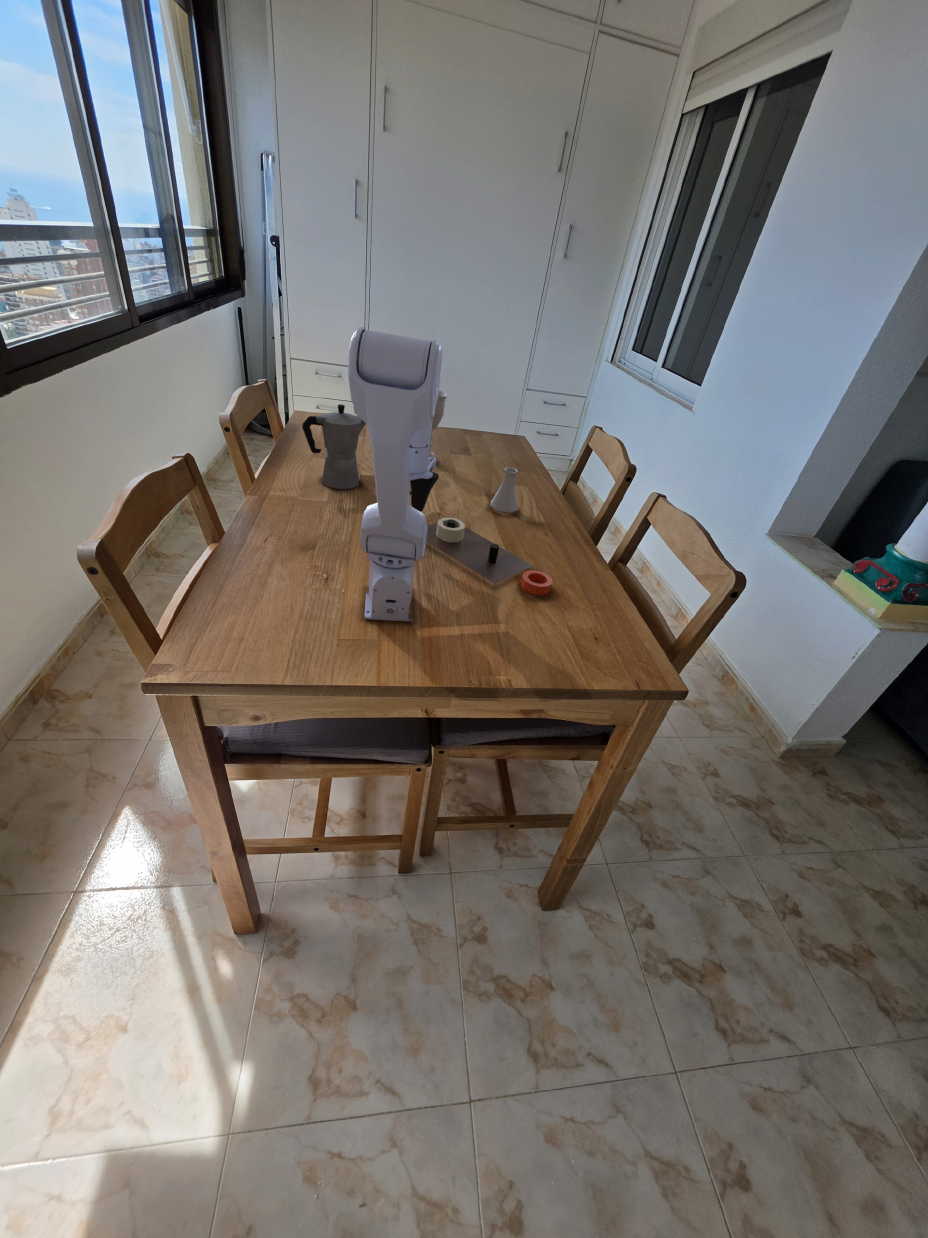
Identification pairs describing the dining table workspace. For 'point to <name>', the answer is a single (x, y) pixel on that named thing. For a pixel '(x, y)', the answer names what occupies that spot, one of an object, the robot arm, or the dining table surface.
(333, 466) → the coffeepot
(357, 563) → the dining table surface
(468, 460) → the dining table surface
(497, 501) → the flask
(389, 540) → the robot arm
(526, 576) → the red ring
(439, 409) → the chalice
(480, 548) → the ring board
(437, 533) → the cream ring
